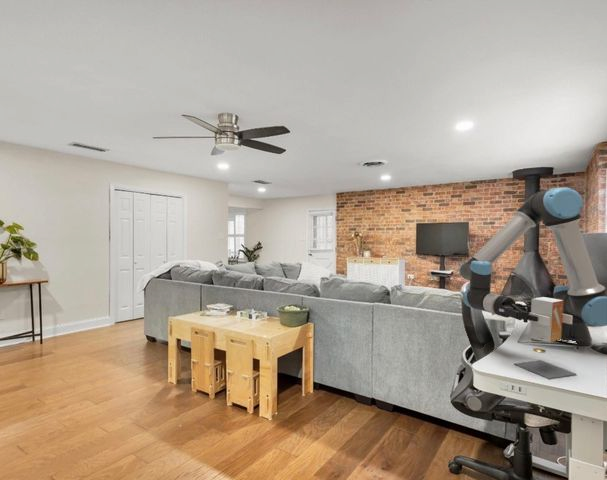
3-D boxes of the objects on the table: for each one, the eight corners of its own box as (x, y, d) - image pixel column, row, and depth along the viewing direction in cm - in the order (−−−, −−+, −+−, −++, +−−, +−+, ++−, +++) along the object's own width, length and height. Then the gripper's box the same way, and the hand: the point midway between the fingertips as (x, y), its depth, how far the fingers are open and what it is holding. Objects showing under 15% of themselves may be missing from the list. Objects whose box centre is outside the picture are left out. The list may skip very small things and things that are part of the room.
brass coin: (538, 349, 136) (538, 347, 136) (548, 353, 132) (548, 351, 132) (530, 350, 135) (530, 348, 135) (540, 354, 131) (540, 352, 131)
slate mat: (540, 361, 123) (540, 360, 123) (576, 375, 111) (576, 373, 111) (514, 364, 119) (514, 363, 119) (549, 379, 107) (549, 378, 107)
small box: (550, 343, 110) (553, 302, 109) (528, 337, 115) (530, 298, 115) (561, 339, 114) (564, 299, 114) (540, 334, 120) (542, 296, 119)
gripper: (521, 313, 135) (583, 330, 114) (476, 316, 128) (534, 335, 107) (522, 294, 135) (585, 307, 113) (477, 296, 128) (535, 310, 106)
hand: (560, 320), depth 110 cm, fingers closed on small box, 9 cm apart
